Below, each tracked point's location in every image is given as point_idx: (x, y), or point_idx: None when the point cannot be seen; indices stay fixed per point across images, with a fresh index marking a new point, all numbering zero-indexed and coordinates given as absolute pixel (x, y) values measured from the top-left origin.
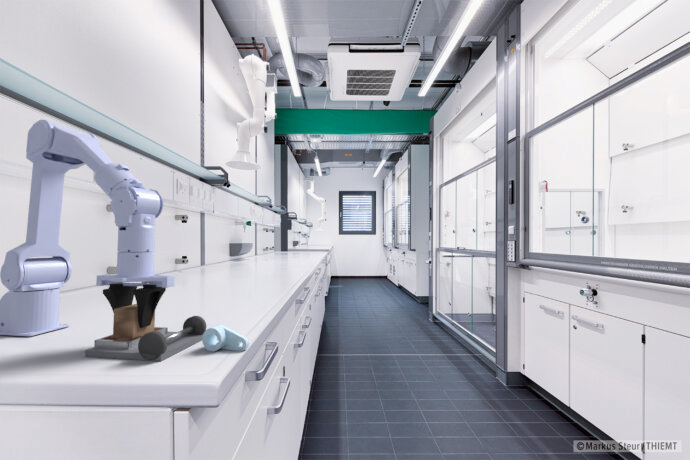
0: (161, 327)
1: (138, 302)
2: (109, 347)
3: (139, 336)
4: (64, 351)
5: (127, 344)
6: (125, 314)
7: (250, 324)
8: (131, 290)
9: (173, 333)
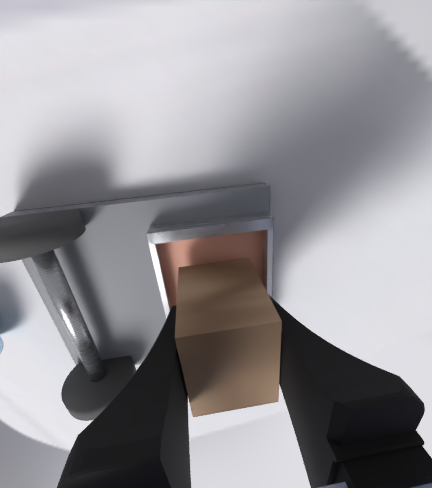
0: None
1: (159, 379)
2: (215, 218)
3: None
4: (353, 196)
5: (152, 230)
6: (218, 314)
7: None
8: (310, 462)
9: None
